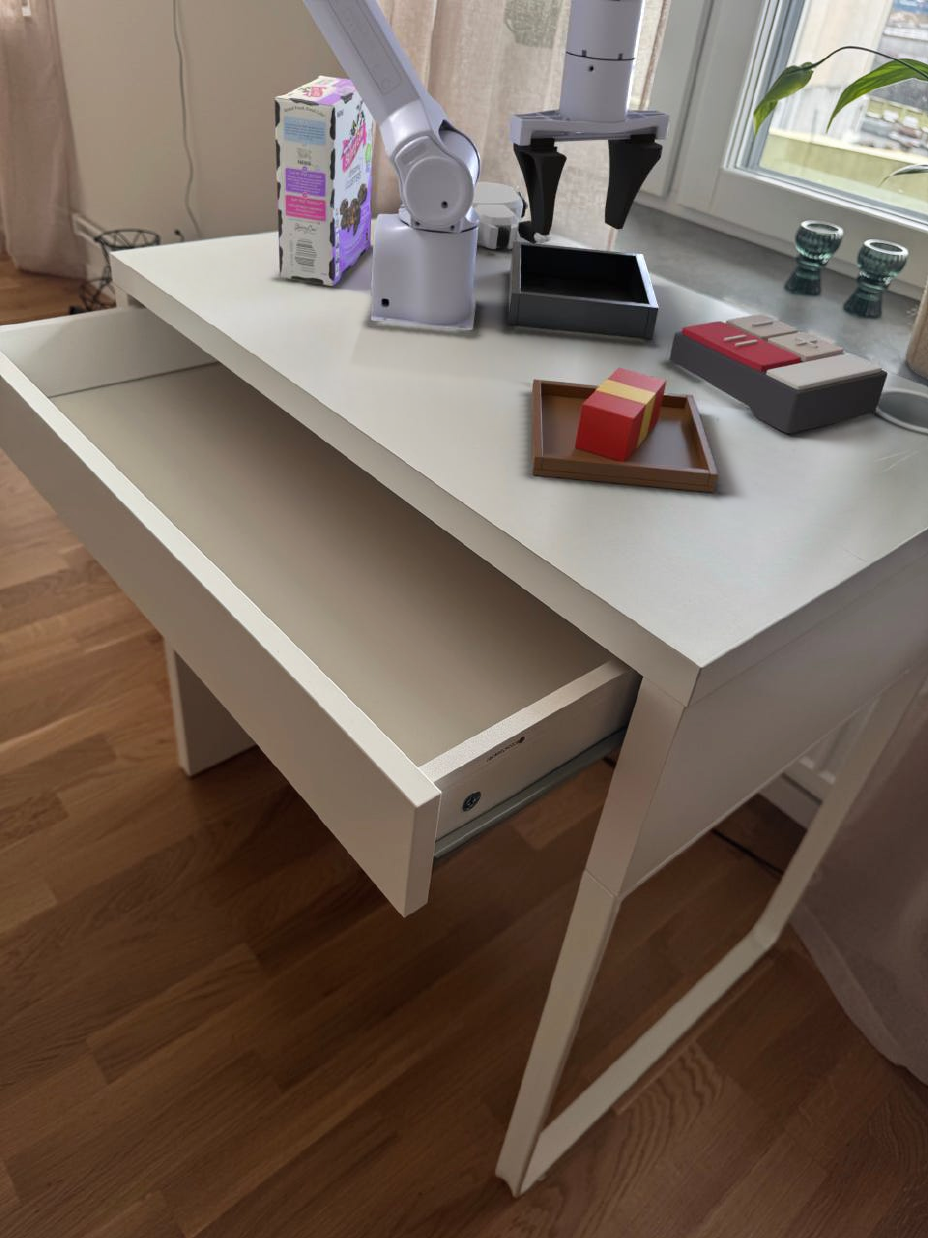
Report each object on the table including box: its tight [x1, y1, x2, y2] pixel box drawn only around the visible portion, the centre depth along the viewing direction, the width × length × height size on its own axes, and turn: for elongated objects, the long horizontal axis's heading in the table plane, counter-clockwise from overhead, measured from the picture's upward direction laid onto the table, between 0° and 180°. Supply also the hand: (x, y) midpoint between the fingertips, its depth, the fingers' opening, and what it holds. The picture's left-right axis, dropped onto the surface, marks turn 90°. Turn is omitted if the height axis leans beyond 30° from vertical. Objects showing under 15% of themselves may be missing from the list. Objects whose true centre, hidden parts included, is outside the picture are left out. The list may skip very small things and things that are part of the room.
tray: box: [530, 379, 719, 493], centre depth 74 cm, size 13×13×2 cm
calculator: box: [669, 313, 888, 434], centre depth 84 cm, size 11×4×15 cm
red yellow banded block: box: [575, 367, 668, 462], centre depth 73 cm, size 4×8×4 cm, turn 153°
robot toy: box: [472, 180, 551, 250], centre depth 111 cm, size 12×4×15 cm
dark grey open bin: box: [507, 241, 660, 341], centre depth 96 cm, size 14×16×4 cm
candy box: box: [274, 75, 374, 287], centre depth 96 cm, size 14×6×16 cm, turn 168°
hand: (577, 228), depth 86 cm, fingers open, 7 cm apart
